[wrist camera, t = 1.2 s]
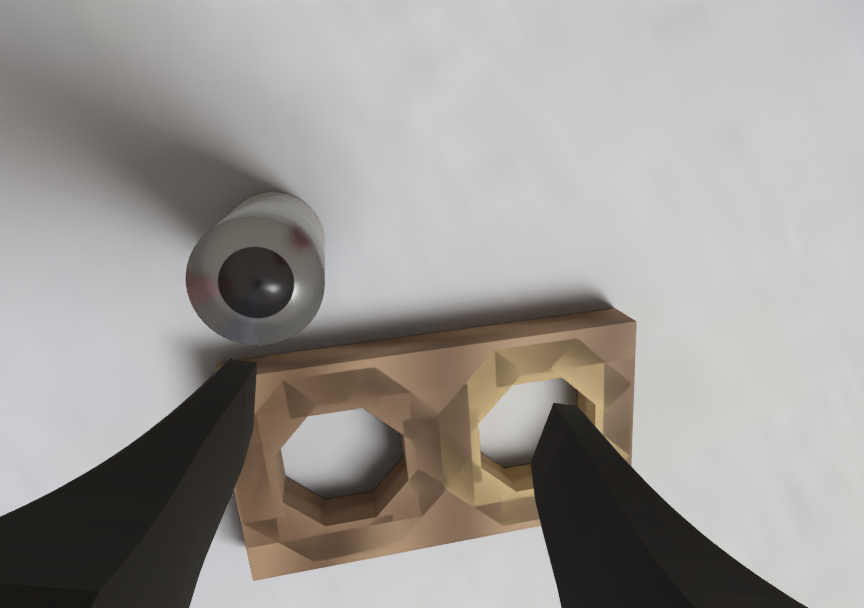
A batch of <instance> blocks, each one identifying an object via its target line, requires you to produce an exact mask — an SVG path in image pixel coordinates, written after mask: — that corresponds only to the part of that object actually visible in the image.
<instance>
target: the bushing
mask: <svg viewBox="0 0 864 608" xmlns="http://www.w3.org/2000/svg"><path fill="white" fill-rule="evenodd" d="M324 286H325V236H324V231H323V227H322V224H321V222H320V220H319V218H318V216H317V215H316V213H315V212H314V211H313V210H312V209H311V207H309V206H308V205H307V204H306V203H305V202H303V201H302V200H300V199H299V198H297V197H295V196H292V195H289V194H286V193H282V192H265V193H260V194H257V195H254V196H252V197H250V198H248V199H246V200H245V201H243V202H242V203H241V204H240V205H239V206H237V207H236V208H235V209H234V210H233V211H232V212H230V213H229V214H228V215H227V216H226V217H225V218H223V219H222V220H221V221H220V222H219V223H218V224H216V225H215V226H214V227H213V228H212V229H211V230H209V231H208V232H207V233H206V234H205V235H204V236H203V237H202V238H201V239H200V240H199V241H198V243H197V244H196V246H195V247H194V249H193V251H192V253H191V255H190V257H189V261H188V264H187V269H186V287H187V293H188V296H189V299H190V302H191V304H192V306H193V308H194V310H195V311H196V313H197V315H198V316H199V317H200V318H201V320H202V321H203V322H204V323H205V324H206V325H207V326H208V327H209V328H210V329H212V330H213V331H215V332H216V333H217V334H219V335H221V336H223V337H224V338H227V339H229V340H231V341H234V342H238V343H241V344H247V345H269V344H275V343H278V342H281V341H284V340H287V339H289V338H291V337H293V336H294V335H296V334H298V333H299V332H300V331H302V330H303V329H304V328H305V327H306V326H307V325H308V324H309V323H310V322H311V321H312V319H313V318H314V316H315V315H316V313H317V311H318V309H319V308H320V305H321V302H322V299H323V294H324Z"/></svg>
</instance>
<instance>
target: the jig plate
mask: <svg viewBox="0 0 864 608" xmlns="http://www.w3.org/2000/svg"><path fill="white" fill-rule="evenodd" d="M635 346H636V321H635V320H633V319H632V318H630V317H628V316H627V315H625V314H623V313H622V312H620V311H619V310H617V309H615V308H613V309H606V310H598V311H591V312H584V313H576V314H569V315H562V316H554V317H547V318H539V319H532V320H525V321H517V322H510V323H503V324H495V325H488V326H481V327H473V328H466V329H458V330H451V331H444V332H436V333H429V334H422V335H414V336H407V337H399V338H392V339H385V340H377V341H370V342H363V343H355V344H348V345H341V346H333V347H326V348H318V349H311V350H304V351H296V352H289V353H282V354H274V355H267V356H259V357H252V358H245V359H237V360H241V361H248V362H255V363H257V374H256V392H255V410H254V428H253V433H252V436H251V440H250V444H249V447H248V451H247V454H246V458H245V461H244V465H243V468H242V471H241V473H240V476H239V478H238V480H237V483H236V485H235V488H234V494H235V499H236V503H237V508H238V513H239V517H240V522H241V527H242V531H243V536H244V541H245V545H246V550H247V555H248V559H249V564H250V568H251V573H252V578H253V581H255V580H260V579H266V578H271V577H276V576H281V575H286V574H292V573H297V572H302V571H307V570H312V569H318V568H323V567H328V566H333V565H339V564H344V563H349V562H354V561H359V560H365V559H370V558H375V557H380V556H385V555H391V554H396V553H401V552H406V551H412V550H417V549H422V548H427V547H432V546H438V545H443V544H448V543H453V542H458V541H464V540H469V539H474V538H479V537H485V536H490V535H495V534H500V533H505V532H511V531H516V530H521V529H526V528H531V527H537V526H541V523H540V519H539V515H538V511H537V507H536V502H535V496H534V489H533V480H532V471H531V464H525V465H519V466H514V467H508V468H503V467H501V466H500V465H499V464H497V463H496V462H494V461H493V460H491V459H490V458H488V457H487V456H486V455H484V454H483V453H481V452H480V439H479V422H480V421H481V420H482V419H483V418H484V417H485V416H486V414H487V413H488V412H489V411H490V410H491V409H492V408H493V407H494V405H495V404H496V403H497V402H498V401H499V400H500V399H501V397H502V396H503V395H504V394H505V393H506V392H507V391H508V390H509V388H510V387H511V386H512V385H516V384H522V383H529V382H536V381H542V380H549V379H555V378H563V379H564V380H566V381H567V382H568V383H569V384H571V385H572V386H573V387H574V388H576V389H577V390H578V403H577V407H578V408H579V409H580V410H581V411H582V412H583V413H584V414H585V415H586V416H587V417H588V418H589V419H590V421H591V422H592V423H593V424H594V425H595V426H596V427H597V429H598V430H599V431H600V432H601V433H602V434H603V435H604V437H605V438H606V439H607V440H608V441H609V442H610V443H611V445H612V446H613V447H614V448H615V449H616V450H617V451H618V453H619V454H620V455H621V456H622V457H623V458H624V459H625V460H626V461H627V462H628V464H629V465H630V466H631V458H632V430H633V402H634V374H635ZM225 362H227V361H223V362H219V363H218V365H217V367H216V370H215V372H216V371H217V370H218V369H219V368H220V367H221V366H222V365H223V364H224V363H225ZM215 372H214V373H215ZM359 408H363V409H365V410H366V411H368V412H369V413H371V414H372V415H374V416H375V417H377V418H378V419H380V420H381V421H383V422H384V423H386V424H387V425H389V426H390V427H392V428H393V429H395V430H396V431H398V432H399V433H400V434H401V444H402V453H403V457H402V458H401V459H400V460H399V462H398V463H397V464H396V465H395V466H394V467H393V469H392V470H391V471H390V472H389V473H388V474H387V475H386V477H385V478H384V479H383V480H382V481H381V482H380V483H379V485H378V486H377V487H376V488H375V489H374V490H373V491H370V492H365V493H359V494H353V495H347V496H342V497H336V498H330V499H324V498H322V497H320V496H319V495H317V494H315V493H314V492H312V491H310V490H308V489H307V488H305V487H303V486H302V485H300V484H298V483H296V482H295V481H293V480H291V479H290V478H288V477H286V476H285V470H284V465H283V459H282V454H281V448H282V446H283V445H284V444H285V443H286V442H287V440H288V439H289V438H290V437H291V436H292V434H293V433H294V432H295V431H296V430H297V428H298V427H299V426H300V425H301V424H302V422H303V421H304V420H305V419H306V418H307V416H313V415H319V414H326V413H332V412H339V411H345V410H352V409H359Z"/></svg>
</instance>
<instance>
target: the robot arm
mask: <svg viewBox="0 0 864 608" xmlns="http://www.w3.org/2000/svg"><path fill="white" fill-rule="evenodd" d="M256 374H257V363H255V362H248V361H241V360H233V359H230V360H228V361H227V362H225V363H224V364H223V365H222V366H221V367H220V368H219V369H218V370H217V371H216V372H215V373H214V374H213V375H212V376H211V377H210V378H209V379H208V380H207V381H206V382H205V383H204V384H203V385H202V386H201V387H199V388H198V389H197V390H196V391H195V392H194V393H193V394H192V395H191V396H190V397H188V398H187V399H186V400H185V401H184V402H183V403H182V404H180V405H179V406H178V407H177V408H176V409H175V410H173V411H172V412H171V413H170V414H169V415H168V416H166V417H165V418H164V419H163V420H161V421H160V422H159V423H157V424H156V425H155V426H154V427H152V428H151V429H150V430H148V431H147V432H146V433H145V434H143V435H142V436H141V437H139V438H138V439H137V440H135V441H134V442H132V443H131V444H130V445H128V446H127V447H125V448H124V449H122V450H121V451H120V452H118V453H117V454H115V455H114V456H112V457H110V458H109V459H107V460H106V461H104V462H103V463H101V464H100V465H98V466H96V467H95V468H93V469H91V470H90V471H88V472H86V473H85V474H83V475H81V476H80V477H78V478H76V479H74V480H72V481H71V482H69V483H67V484H65V485H64V486H62V487H60V488H58V489H56V490H55V491H53V492H51V493H49V494H47V495H45V496H43V497H41V498H39V499H37V500H35V501H33V502H31V503H29V504H27V505H25V506H22V507H20V508H18V509H16V510H14V511H12V512H10V513H7V514H5V515H3V516H1V517H0V608H189V606H190V603H191V600H192V596H193V593H194V590H195V587H196V583H197V580H198V577H199V574H200V571H201V568H202V566H203V563H204V560H205V557H206V555H207V552H208V550H209V548H210V545H211V543H212V540H213V538H214V536H215V533H216V531H217V528H218V526H219V524H220V521H221V519H222V516H223V514H224V512H225V509H226V507H227V505H228V502H229V500H230V497H231V495H232V493H233V490H234V488H235V485H236V483H237V480H238V478H239V476H240V473H241V471H242V468H243V465H244V461H245V458H246V454H247V451H248V447H249V444H250V440H251V436H252V433H253V428H254V410H255V392H256ZM531 471H532V480H533V489H534V496H535V502H536V507H537V511H538V515H539V519H540V523H541V527H542V531H543V534H544V538H545V542H546V546H547V550H548V554H549V557H550V561H551V565H552V569H553V573H554V577H555V580H556V584H557V588H558V593H559V598H560V602H561V607H562V608H808V607H806V606H804V605H803V604H801V603H799V602H797V601H796V600H794V599H793V598H791V597H789V596H788V595H786V594H785V593H783V592H782V591H780V590H779V589H777V588H776V587H774V586H773V585H771V584H770V583H768V582H767V581H765V580H764V579H762V578H761V577H759V576H758V575H756V574H755V573H753V572H752V571H751V570H749V569H748V568H746V567H745V566H743V565H742V564H741V563H739V562H738V561H737V560H735V559H734V558H733V557H731V556H730V555H729V554H727V553H726V552H725V551H723V550H722V549H721V548H719V547H718V546H717V545H716V544H714V543H713V542H712V541H710V540H709V539H708V538H707V537H706V536H704V535H703V534H702V533H701V532H699V531H698V530H697V529H696V528H695V527H694V526H692V525H691V524H690V523H689V522H688V521H687V520H686V519H684V518H683V517H682V516H681V515H680V514H679V513H678V512H676V511H675V510H674V509H673V508H672V507H671V506H670V505H669V504H668V503H667V502H666V501H665V500H664V499H663V498H662V497H661V496H660V495H659V494H658V493H656V492H655V491H654V490H653V489H652V488H651V487H650V486H649V485H648V484H647V483H646V482H645V481H644V479H643V478H642V477H641V476H640V475H639V474H638V473H637V472H636V471H635V470H634V469H633V468H632V467H631V466H630V465H629V464H628V462H627V461H626V460H625V459H624V458H623V457H622V456H621V455H620V454H619V453H618V451H617V450H616V449H615V448H614V447H613V446H612V445H611V443H610V442H609V441H608V440H607V439H606V438H605V437H604V435H603V434H602V433H601V432H600V431H599V430H598V429H597V427H596V426H595V425H594V424H593V423H592V422H591V421H590V419H589V418H588V417H587V416H586V415H585V414H584V413H583V412H582V411H581V410H580V409H579V408H578V407H577V406H572V405H565V404H558V403H553V406H552V409H551V411H550V414H549V416H548V419H547V422H546V424H545V427H544V429H543V432H542V435H541V437H540V440H539V442H538V445H537V448H536V450H535V453H534V456H533V458H532V461H531Z"/></svg>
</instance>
